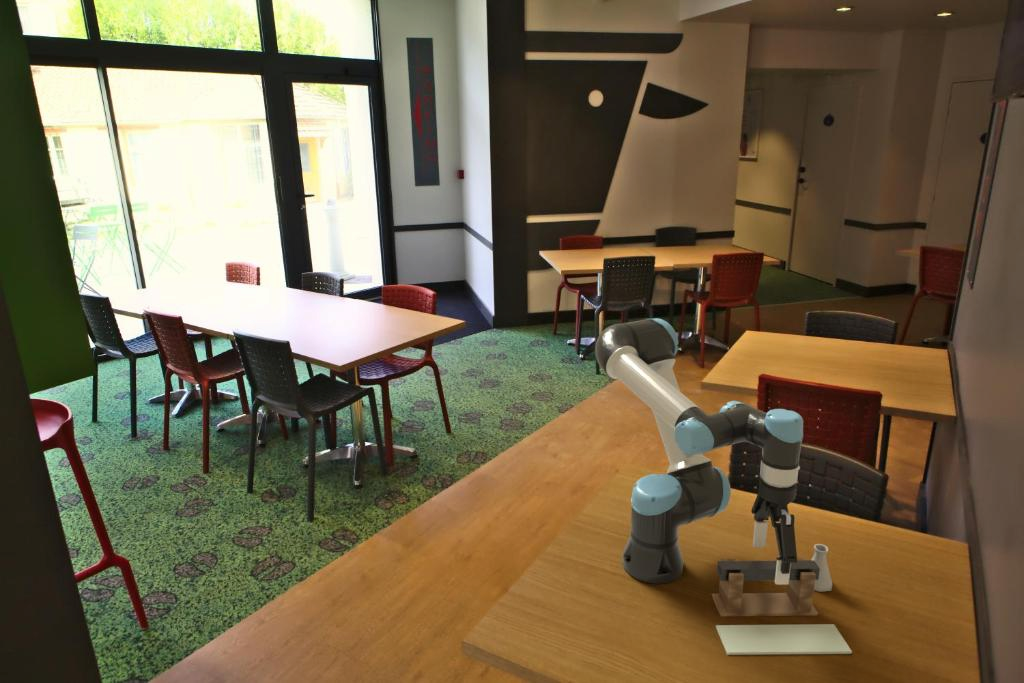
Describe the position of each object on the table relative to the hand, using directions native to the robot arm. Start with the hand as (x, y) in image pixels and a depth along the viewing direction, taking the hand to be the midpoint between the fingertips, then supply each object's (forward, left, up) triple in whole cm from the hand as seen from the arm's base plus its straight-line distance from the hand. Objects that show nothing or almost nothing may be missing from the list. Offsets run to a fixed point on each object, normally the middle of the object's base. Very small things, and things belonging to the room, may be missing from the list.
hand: (769, 564), depth 146 cm
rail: (0, 0, -3) cm, 3 cm away
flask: (+9, +15, -12) cm, 21 cm away
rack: (0, 0, -11) cm, 11 cm away
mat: (+5, -9, -11) cm, 16 cm away
